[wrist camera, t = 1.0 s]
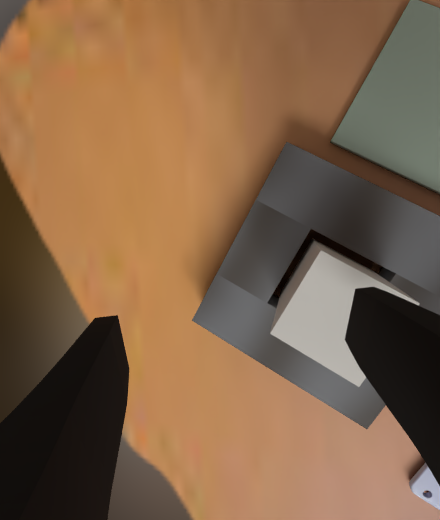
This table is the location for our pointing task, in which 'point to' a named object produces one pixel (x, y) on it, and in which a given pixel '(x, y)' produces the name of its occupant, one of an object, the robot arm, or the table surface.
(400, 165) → the mat
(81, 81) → the table surface
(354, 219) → the pocket board
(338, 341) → the block
